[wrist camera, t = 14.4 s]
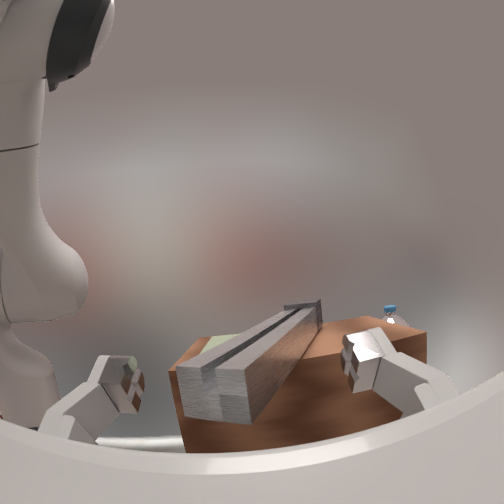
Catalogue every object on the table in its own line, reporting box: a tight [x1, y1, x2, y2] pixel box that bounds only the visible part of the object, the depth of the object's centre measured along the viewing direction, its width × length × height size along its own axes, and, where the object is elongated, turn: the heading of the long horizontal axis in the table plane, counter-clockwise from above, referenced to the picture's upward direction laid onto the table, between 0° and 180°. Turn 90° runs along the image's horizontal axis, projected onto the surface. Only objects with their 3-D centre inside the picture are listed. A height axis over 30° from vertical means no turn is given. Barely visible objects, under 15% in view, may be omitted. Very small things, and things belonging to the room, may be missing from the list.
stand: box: [168, 316, 427, 453], centre depth 22 cm, size 18×12×26 cm, turn 90°
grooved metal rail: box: [175, 299, 323, 425], centre depth 19 cm, size 20×3×3 cm, turn 159°
